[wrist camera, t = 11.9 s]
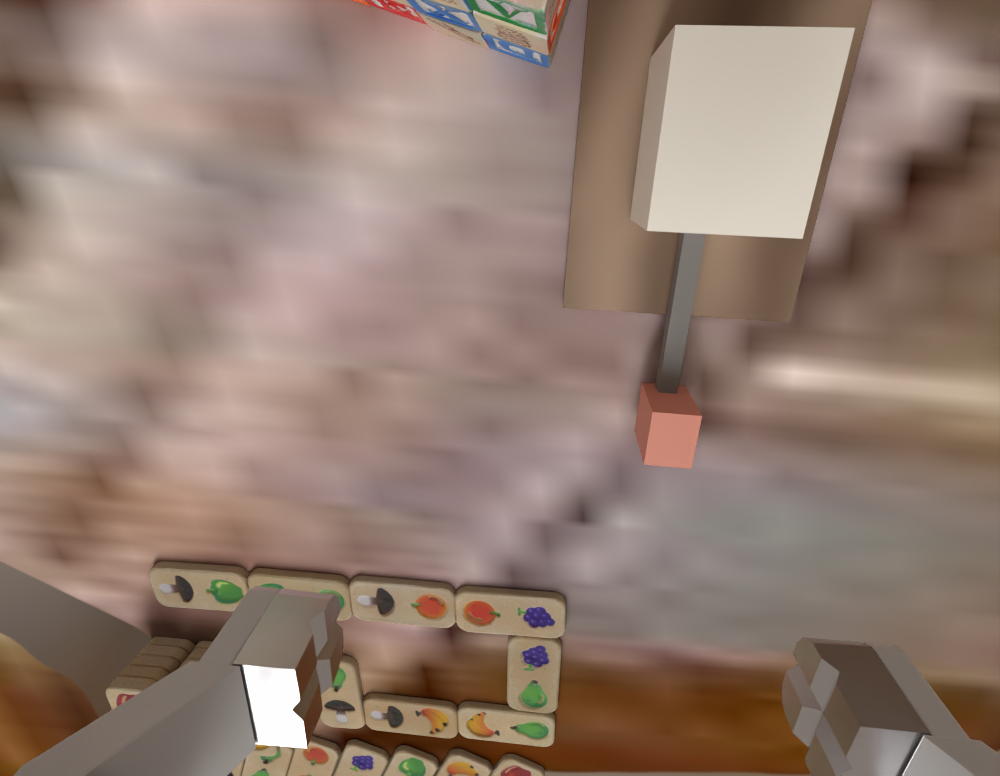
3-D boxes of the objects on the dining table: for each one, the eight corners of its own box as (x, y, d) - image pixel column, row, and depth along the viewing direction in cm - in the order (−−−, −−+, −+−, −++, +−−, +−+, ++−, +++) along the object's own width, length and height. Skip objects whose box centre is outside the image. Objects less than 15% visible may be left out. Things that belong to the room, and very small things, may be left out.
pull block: (603, 427, 31) (611, 481, 26) (650, 58, 24) (675, 24, 19) (707, 435, 31) (739, 493, 25) (787, 61, 24) (855, 27, 18)
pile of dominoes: (202, 773, 52) (163, 838, 47) (126, 552, 42) (66, 604, 37) (555, 816, 49) (554, 892, 43) (566, 584, 38) (567, 647, 33)
